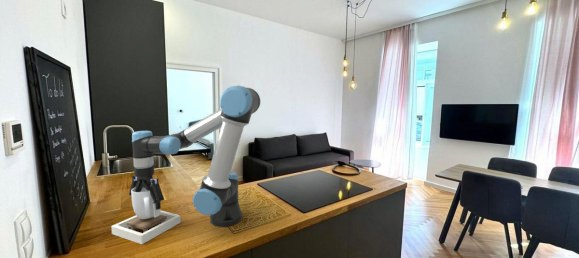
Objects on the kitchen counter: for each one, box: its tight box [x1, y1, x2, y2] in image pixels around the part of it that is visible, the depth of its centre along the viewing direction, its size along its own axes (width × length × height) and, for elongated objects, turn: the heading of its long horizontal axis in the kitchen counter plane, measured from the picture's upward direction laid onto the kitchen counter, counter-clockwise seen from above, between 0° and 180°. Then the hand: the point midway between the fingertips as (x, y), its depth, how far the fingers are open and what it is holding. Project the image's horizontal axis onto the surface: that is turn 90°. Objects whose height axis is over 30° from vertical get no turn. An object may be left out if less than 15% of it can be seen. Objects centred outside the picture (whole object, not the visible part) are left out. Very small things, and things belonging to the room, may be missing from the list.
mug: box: [130, 185, 157, 219], centre depth 104 cm, size 15×11×13 cm
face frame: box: [110, 209, 182, 245], centre depth 105 cm, size 19×19×4 cm
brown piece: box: [127, 215, 167, 233], centre depth 105 cm, size 11×11×4 cm
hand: (147, 213), depth 105 cm, fingers closed on mug, 12 cm apart
